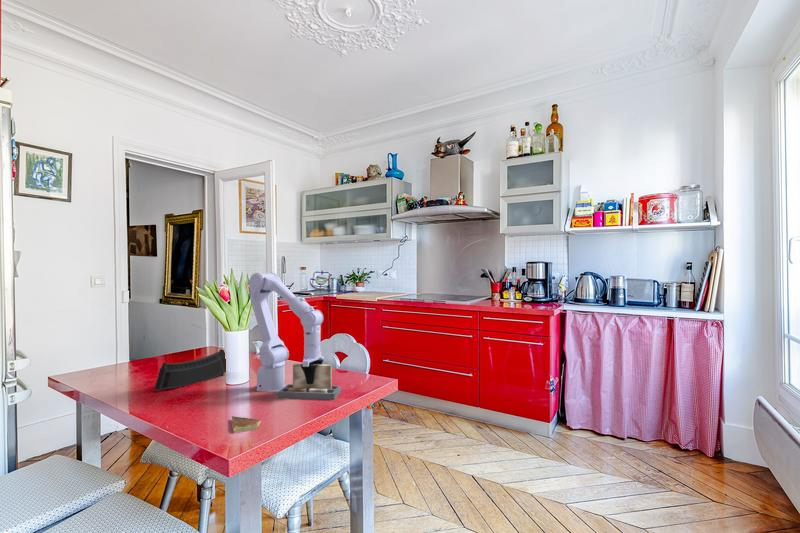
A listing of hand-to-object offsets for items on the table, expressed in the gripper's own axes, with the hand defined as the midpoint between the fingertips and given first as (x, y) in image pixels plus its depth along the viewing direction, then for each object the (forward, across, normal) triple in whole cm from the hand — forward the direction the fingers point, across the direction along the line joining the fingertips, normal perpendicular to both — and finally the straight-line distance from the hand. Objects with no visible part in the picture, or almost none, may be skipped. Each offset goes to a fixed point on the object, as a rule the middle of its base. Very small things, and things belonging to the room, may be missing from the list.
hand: (312, 381), depth 138 cm
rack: (+4, -2, 0) cm, 5 cm away
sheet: (+4, 0, 0) cm, 4 cm away
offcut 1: (+4, -4, +4) cm, 7 cm away
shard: (+5, -30, +11) cm, 32 cm away
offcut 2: (+4, -4, -4) cm, 7 cm away
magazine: (+5, +10, +51) cm, 52 cm away
